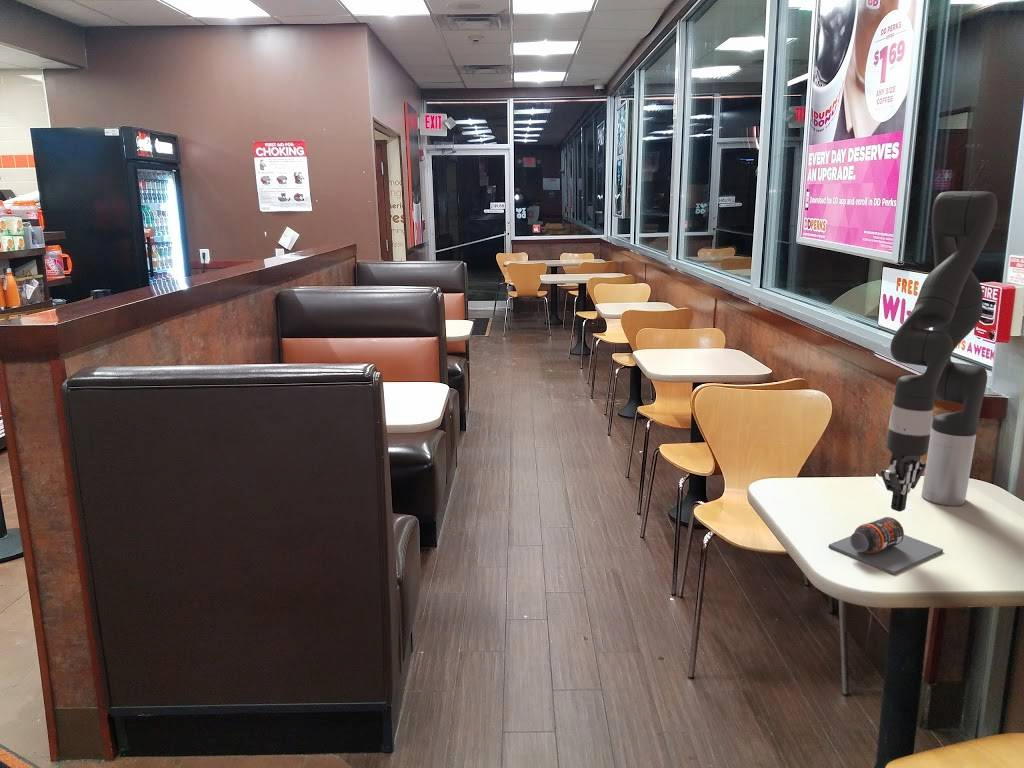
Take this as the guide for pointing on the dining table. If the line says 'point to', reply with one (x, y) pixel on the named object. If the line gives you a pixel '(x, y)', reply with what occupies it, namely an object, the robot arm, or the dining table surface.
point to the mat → (891, 554)
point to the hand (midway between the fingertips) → (897, 509)
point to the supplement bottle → (877, 535)
